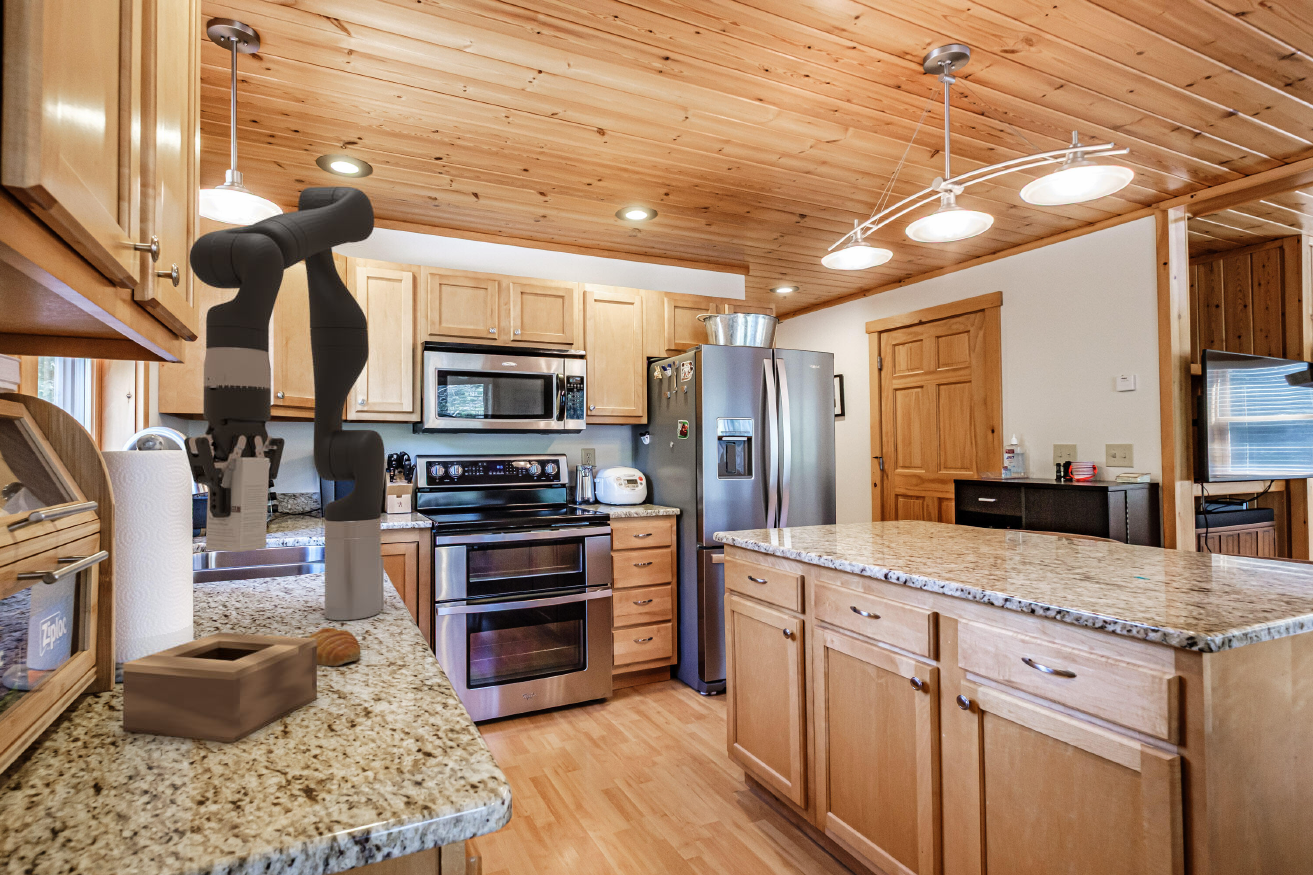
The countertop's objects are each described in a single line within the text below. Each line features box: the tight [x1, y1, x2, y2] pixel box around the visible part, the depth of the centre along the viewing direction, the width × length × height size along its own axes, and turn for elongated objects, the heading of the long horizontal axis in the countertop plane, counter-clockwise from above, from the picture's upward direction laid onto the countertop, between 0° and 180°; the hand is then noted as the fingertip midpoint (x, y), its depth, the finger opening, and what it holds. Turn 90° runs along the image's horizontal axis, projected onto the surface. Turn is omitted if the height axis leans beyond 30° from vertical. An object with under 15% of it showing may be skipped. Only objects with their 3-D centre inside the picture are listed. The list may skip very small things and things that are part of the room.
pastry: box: [307, 627, 362, 667], centre depth 95 cm, size 9×7×4 cm
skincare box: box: [205, 457, 270, 553], centre depth 87 cm, size 6×4×12 cm
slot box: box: [122, 631, 318, 744], centre depth 75 cm, size 12×14×7 cm
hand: (237, 514), depth 87 cm, fingers closed on skincare box, 4 cm apart
